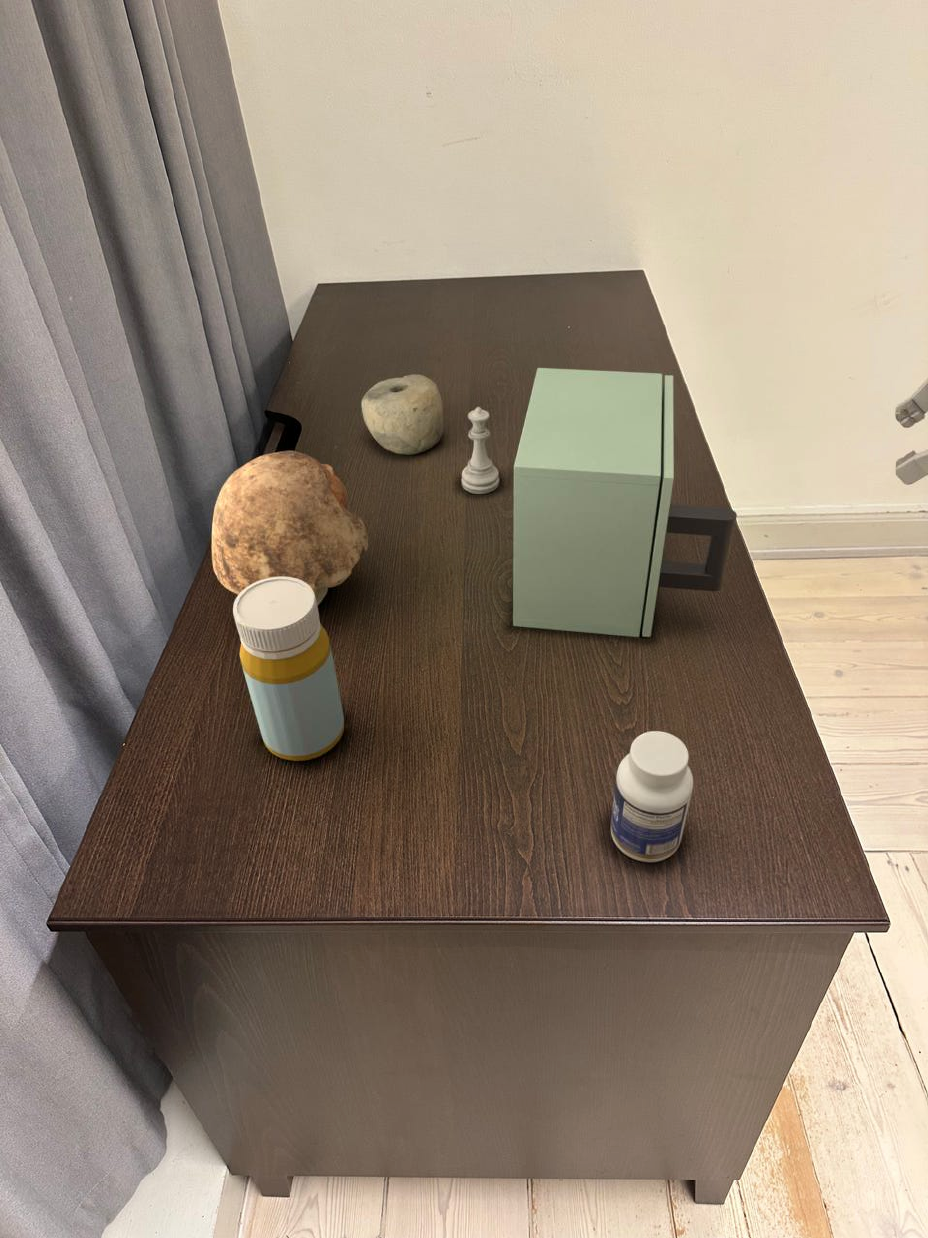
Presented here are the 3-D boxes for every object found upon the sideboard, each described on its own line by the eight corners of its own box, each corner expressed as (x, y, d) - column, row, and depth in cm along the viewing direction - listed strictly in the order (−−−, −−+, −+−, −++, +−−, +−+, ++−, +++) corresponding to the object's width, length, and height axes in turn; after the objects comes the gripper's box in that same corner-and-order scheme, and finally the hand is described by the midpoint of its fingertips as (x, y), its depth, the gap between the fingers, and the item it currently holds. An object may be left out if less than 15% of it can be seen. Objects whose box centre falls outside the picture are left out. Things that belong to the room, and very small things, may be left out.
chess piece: (455, 489, 103) (451, 412, 97) (472, 470, 106) (469, 394, 100) (488, 498, 102) (487, 420, 95) (505, 479, 105) (505, 402, 98)
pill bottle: (623, 795, 70) (635, 713, 64) (689, 820, 68) (708, 738, 62) (599, 848, 67) (608, 766, 60) (668, 876, 65) (685, 795, 58)
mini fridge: (643, 525, 97) (662, 373, 85) (639, 637, 84) (660, 475, 72) (534, 518, 99) (537, 367, 87) (513, 626, 86) (513, 466, 74)
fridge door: (708, 529, 96) (736, 378, 84) (714, 643, 83) (749, 482, 71) (645, 525, 97) (664, 374, 85) (641, 636, 84) (663, 477, 72)
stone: (466, 393, 113) (435, 365, 103) (442, 471, 113) (410, 450, 104) (398, 378, 116) (363, 351, 107) (375, 454, 116) (338, 433, 107)
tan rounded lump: (406, 575, 92) (394, 449, 82) (307, 667, 82) (279, 537, 72) (296, 531, 98) (272, 409, 88) (192, 612, 89) (152, 485, 79)
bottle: (355, 750, 75) (331, 618, 65) (273, 776, 73) (236, 644, 63) (333, 694, 80) (308, 563, 70) (256, 717, 78) (219, 586, 68)
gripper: (1032, 256, 71) (877, 365, 81) (1068, 365, 57) (873, 482, 66) (1078, 313, 73) (920, 413, 82) (1124, 433, 58) (926, 538, 68)
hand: (899, 445), depth 74 cm, fingers open, 8 cm apart
